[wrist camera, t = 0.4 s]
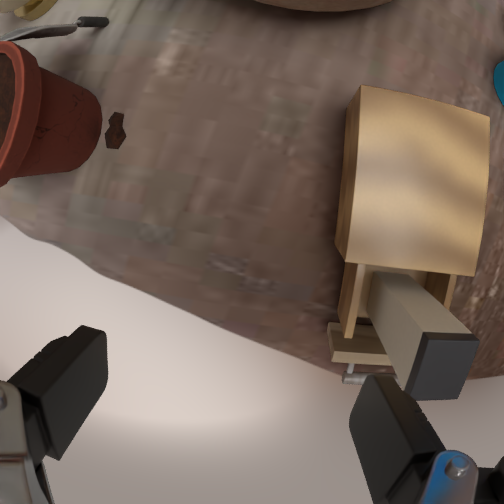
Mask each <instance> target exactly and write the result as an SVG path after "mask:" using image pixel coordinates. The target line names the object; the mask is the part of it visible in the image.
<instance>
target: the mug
mask: <svg viewBox="0 0 504 504" xmlns="http://www.w3.org/2000/svg"><path fill="white" fill-rule="evenodd" d="M493 78H494V86H495V89H496V92H497V95H498V97H499V99H500V100H501V102H502V104H503V106H504V61H502V62H500V63H499V64H497V66H496V68H495V69H494V76H493Z"/></svg>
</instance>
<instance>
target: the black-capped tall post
mask: <svg viewBox="0 0 504 504" xmlns="http://www.w3.org/2000/svg"><path fill="white" fill-rule="evenodd" d="M366 312H367V314H368V316H369V318H370V320H371V322H372V324H373V326H374V328H375V330H376V332H377V334H378V336H379V338H380V340H381V342H382V345H383V347H384V349H385V351H386V353H387V355H388V357H389V359H390V362H391V364H392V366H393V368H394V370H395V373H396V375H397V377H398V379H399V382H400V384H401V386H402V388H403V390H404V391H405V392H406V393H407V394H409V395H410V396H411V397H412V398H414V399H415V400H416V401H420V400H421V401H423V400H450V399H457V398H458V397H459V394H460V392H461V389H462V387H463V385H464V383H465V380H466V378H467V375H468V373H469V370H470V367H471V365H472V362H473V360H474V357H475V354H476V351H477V348H478V345H479V343H480V340H479V339H478V338H476V337H475V336H474V335H473V334H472V333H471V332H470V331H469V330H468V329H467V328H466V327H465V326H464V325H463V324H462V323H461V322H460V321H459V320H458V319H457V318H456V317H455V316H454V315H453V314H452V313H450V312H449V311H448V310H447V309H446V308H445V307H444V306H443V305H442V304H441V303H440V302H439V301H437V300H436V299H435V298H434V297H433V296H432V295H431V294H430V293H429V292H427V291H426V290H425V289H424V288H423V287H422V286H421V285H420V284H418V283H417V282H416V281H415V280H414V279H413V278H412V277H410V276H409V275H407V274H398V273H389V272H380V271H374V273H373V279H372V284H371V290H370V295H369V300H368V305H367V310H366Z"/></svg>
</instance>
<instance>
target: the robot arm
mask: <svg viewBox="0 0 504 504" xmlns="http://www.w3.org/2000/svg"><path fill="white" fill-rule="evenodd" d="M107 380H108V361H107V337H106V333H105V332H104V331H102V330H98V329H94V328H91V327H87V326H84V325H81V326H80V327H78V328H77V329H76V330H75V331H74V332H73V333H72V334H71V335H70V336H69V337H67V336H63V337H60V338H58V339H55V340H53V341H51V342H50V343H48V344H47V345H46V346H45V347H44V348H43V349H42V350H41V352H38V353H37V354H36V355H35V356H34V358H33V359H31V360H29V361H28V362H27V363H26V364H25V365H24V366H23V367H22V368H21V369H20V370H19V371H18V372H16V373H15V374H14V375H13V376H12V377H11V378H10V379H9V380H8V381H7V382H5V381H1V380H0V504H55V503H54V500H53V496H52V493H51V490H50V486H49V482H48V478H47V474H46V470H45V466H44V464H43V461H42V460H43V458H44V456H45V455H47V456H50V457H52V458H54V459H56V460H58V461H59V460H60V459H61V457H62V456H63V454H64V452H65V451H66V449H67V448H68V446H69V445H70V443H71V441H72V440H73V438H74V437H75V435H76V433H77V432H78V430H79V429H80V427H81V426H82V424H83V423H84V421H85V419H86V418H87V416H88V415H89V413H90V412H91V410H92V409H93V407H94V406H95V404H96V403H97V401H98V399H99V398H100V396H101V395H102V393H103V392H104V390H105V388H106V385H107ZM349 428H350V432H351V435H352V438H353V441H354V444H355V447H356V450H357V453H358V456H359V459H360V463H361V466H362V469H363V472H364V475H365V478H366V481H367V485H368V488H369V491H370V494H371V497H372V501H373V504H504V456H503V457H502V458H501V460H500V461H499V462H498V464H497V465H496V466H495V468H481V467H477V465H476V463H475V462H474V461H473V459H472V458H471V457H469V456H468V455H466V454H464V453H462V452H460V451H456V450H446V449H445V447H444V445H443V443H442V442H441V440H440V439H439V437H438V436H437V434H436V432H435V430H434V429H433V427H432V426H431V424H430V422H429V421H427V418H426V416H425V414H424V413H422V410H421V408H420V407H419V405H418V404H417V402H416V400H415V399H414V398H412V397H411V396H410V395H409V394H407V393H406V392H405V391H402V390H401V388H400V387H399V385H398V383H397V382H396V380H395V379H394V377H393V376H391V375H374V374H370V375H368V376H367V377H366V378H365V380H364V383H363V385H362V388H361V390H360V393H359V395H358V397H357V400H356V402H355V404H354V407H353V409H352V412H351V415H350V419H349Z"/></svg>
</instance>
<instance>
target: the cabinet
mask: <svg viewBox="0 0 504 504" xmlns="http://www.w3.org/2000/svg"><path fill="white" fill-rule="evenodd" d="M489 153H490V117H488V116H485V115H482V114H479V113H476V112H473V111H470V110H467V109H464V108H460V107H457V106H454V105H450V104H447V103H443V102H439V101H436V100H432V99H428V98H424V97H420V96H416V95H411V94H407V93H402V92H398V91H393V90H388V89H383V88H378V87H372V86H366V85H360V87H359V89H358V90H357V92H356V94H355V95H354V97H353V99H352V100H351V102H350V104H349V105H348V107H347V109H346V126H345V141H344V155H343V167H342V178H341V188H340V198H339V208H338V216H337V225H336V233H335V241H334V244H335V246H336V247H337V249H338V251H339V252H340V254H341V256H342V257H343V259H344V261H345V262H349V263H358V264H367V265H375V266H384V267H393V268H402V269H411V270H419V271H428V272H437V273H446V274H454V275H463V276H472V277H474V275H475V270H476V265H477V260H478V255H479V249H480V243H481V237H482V231H483V224H484V216H485V208H486V199H487V188H488V174H489Z"/></svg>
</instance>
